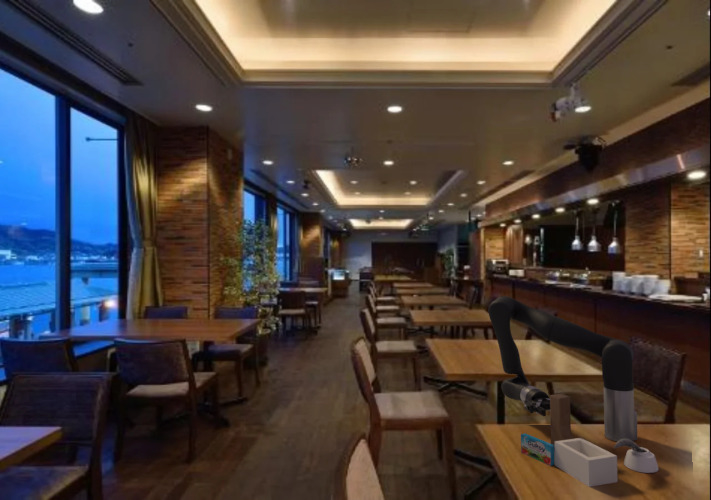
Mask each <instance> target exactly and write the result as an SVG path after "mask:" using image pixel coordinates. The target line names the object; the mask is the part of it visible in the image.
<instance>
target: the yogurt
mask: <svg viewBox="0 0 711 500" xmlns="http://www.w3.org/2000/svg"><path fill="white" fill-rule="evenodd" d="M520 452H521V453H522V454H523V455H525V456H527V457H530V458H532V459H534V460H536V461H539V462H541V463H543V464H545V465H547V466H550V467H552V466H555V451H554V445H553V444H551V442H547V441H546V440H543V439H540V438H537V437H535V436H532V435H530V434H528V433H521V434H520Z"/></svg>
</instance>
